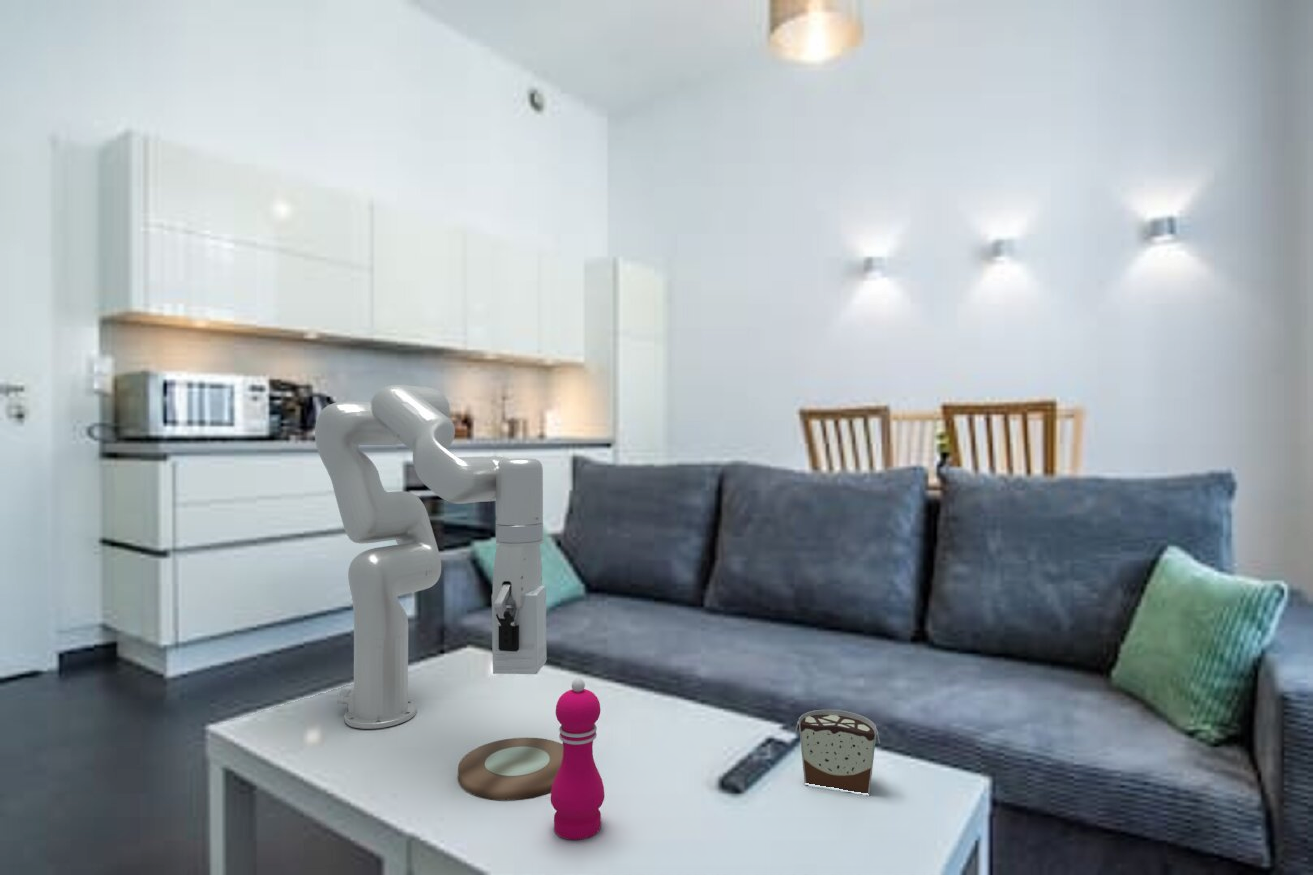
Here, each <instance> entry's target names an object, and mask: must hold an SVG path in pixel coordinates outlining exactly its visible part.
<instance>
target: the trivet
mask: <svg viewBox="0 0 1313 875" xmlns="http://www.w3.org/2000/svg"><path fill="white" fill-rule="evenodd" d="M562 758H563V743H561V742H558V741H555V740H551V739H547V738H542V737H540V738H539V737H512V738H506V739H501V740H496V741H492V742H490V743H486V744H483V745H481V746H478V747H476V748H474V749H473V750H470V751H469V752H468V753H467V754H465V755H464V756H463V757H462V758H461V760H460V761H459V764H458V767H457V780H458V784H459V786H460V787H461V788H462V789H463V790H464V791H466V792H467V793H469V794H471V795H473V796H476V797H478V798H483V799H488V800H493V801H494V800H495V801H519V800H525V799H527V800H528V799H533V798H535V797H536V798H537V797H541V796H543V795H546V794H550V793H551V789H552V785H553V782H554V779H555V777H556V774H557V772H558V770H559V768H560V766H561V762H562Z"/></svg>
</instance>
